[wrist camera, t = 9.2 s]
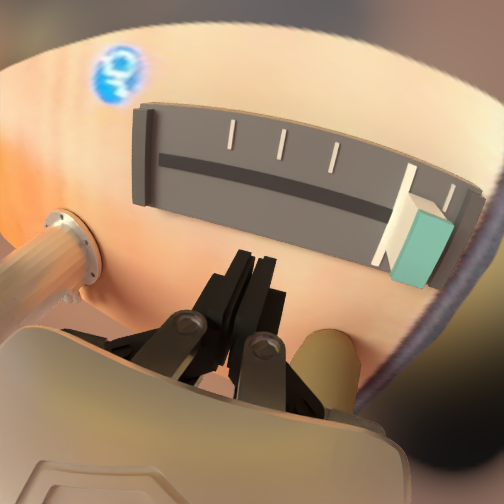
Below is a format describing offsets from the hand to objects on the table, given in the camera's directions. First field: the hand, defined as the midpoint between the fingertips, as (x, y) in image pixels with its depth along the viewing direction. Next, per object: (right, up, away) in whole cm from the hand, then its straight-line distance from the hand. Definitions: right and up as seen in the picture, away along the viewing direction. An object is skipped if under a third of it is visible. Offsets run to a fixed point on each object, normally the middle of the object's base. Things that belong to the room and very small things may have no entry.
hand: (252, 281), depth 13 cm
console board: (+4, +7, +11) cm, 14 cm away
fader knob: (+12, +3, +7) cm, 15 cm away
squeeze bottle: (+9, -10, +20) cm, 24 cm away
